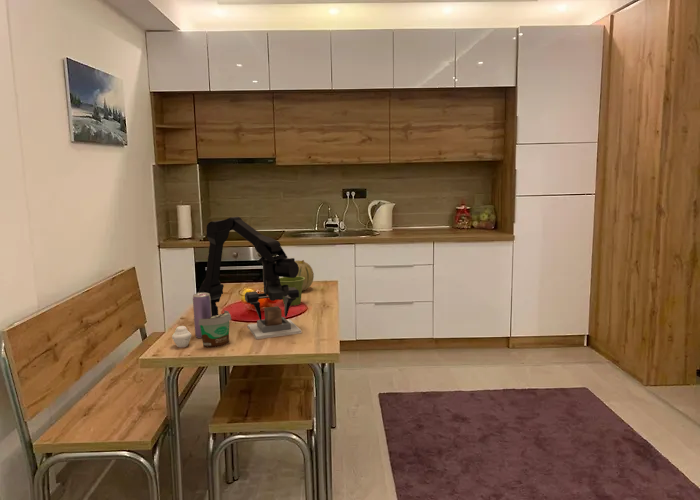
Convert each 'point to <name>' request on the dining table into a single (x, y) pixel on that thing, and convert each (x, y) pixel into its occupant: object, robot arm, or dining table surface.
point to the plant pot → (293, 282)
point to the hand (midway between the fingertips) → (273, 318)
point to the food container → (215, 330)
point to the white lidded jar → (181, 336)
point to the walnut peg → (273, 316)
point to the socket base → (273, 329)
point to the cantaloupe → (305, 274)
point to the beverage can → (201, 310)
